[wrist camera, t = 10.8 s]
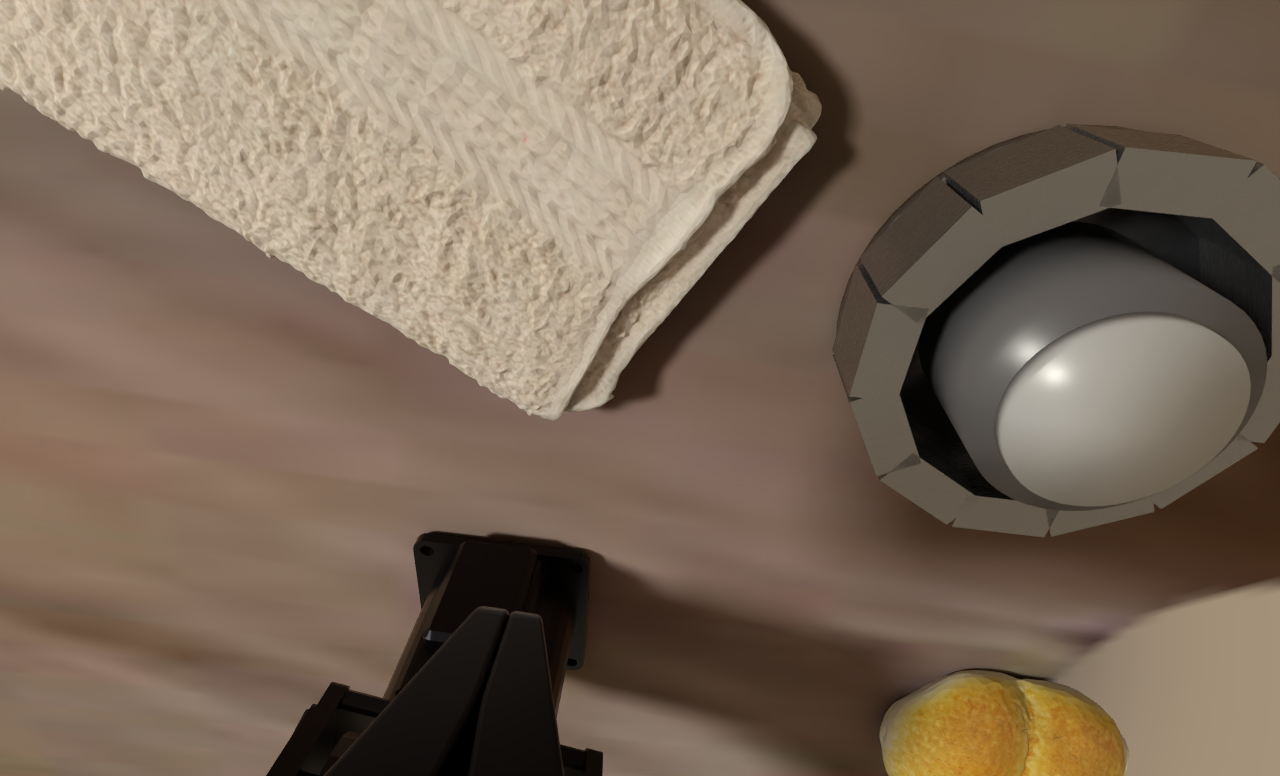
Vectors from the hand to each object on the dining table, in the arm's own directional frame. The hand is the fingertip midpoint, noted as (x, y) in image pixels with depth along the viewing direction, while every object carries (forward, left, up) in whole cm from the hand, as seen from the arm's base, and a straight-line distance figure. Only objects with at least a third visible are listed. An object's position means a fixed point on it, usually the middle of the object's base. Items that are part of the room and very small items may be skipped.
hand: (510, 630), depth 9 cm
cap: (0, -12, -12) cm, 16 cm away
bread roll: (-18, -17, -12) cm, 28 cm away
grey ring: (0, -12, -12) cm, 17 cm away
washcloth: (+5, +5, -13) cm, 15 cm away
